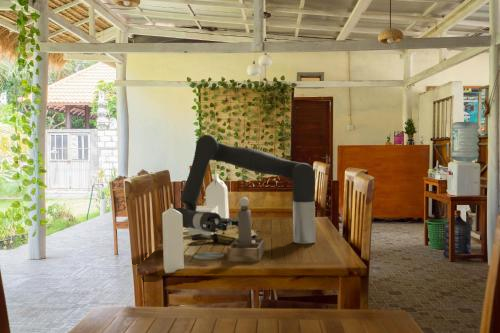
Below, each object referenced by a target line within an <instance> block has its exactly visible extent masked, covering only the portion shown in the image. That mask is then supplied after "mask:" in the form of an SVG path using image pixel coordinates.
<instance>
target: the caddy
mask: <svg viewBox="0 0 500 333" xmlns="http://www.w3.org/2000/svg"><path fill="white" fill-rule="evenodd" d="M265 240H266V239H265V238H260V237H259V238H258V237H257V238H251V241H252V248H239V240H238V238H236V239H235V240H234V241H233V242H232V244H229V246H228V247H227V248H226V249H227V262H239V263H240V262H241V263H242V262H247V263H249V262H252V263H254V262H255V263H257V262H258V263H259V262H260V261H261V260H262V257H263V255H264V254H265V251H266V244H265V243H266V241H265Z"/></svg>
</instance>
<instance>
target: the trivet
mask: <svg viewBox="0 0 500 333" xmlns="http://www.w3.org/2000/svg"><path fill="white" fill-rule="evenodd" d="M224 256H225V255H224V253H222V252H216V251H215V252H214V251H213V252H211V251H208V252H207V251H206V252H201V253H196V254H194V255H193V258H195V259H199V260H214V259H215V260H217V259H220V258H223V257H224Z"/></svg>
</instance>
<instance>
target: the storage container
mask: <svg viewBox="0 0 500 333" xmlns="http://www.w3.org/2000/svg"><path fill="white" fill-rule="evenodd" d="M196 211H200V212H203V211H205V212H213V213H217V214H218V206H206V205H196ZM187 229H188V236H189V235H196V234H214V233H213V232H207V231H201V230H199V229H194V228H190V227H189V228H187Z"/></svg>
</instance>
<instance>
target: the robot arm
mask: <svg viewBox="0 0 500 333" xmlns="http://www.w3.org/2000/svg"><path fill="white" fill-rule="evenodd" d="M210 161H217V162H222V163H227V164H230V165H232V166H234V167H235V166H236V167H238V168H241V169H243V170H246V171H251V172H254V173H258V174H262V175H263V174H264V175H269V176H270V175H271V176H278V177H282V178H285V179H287V180H290V181H292V222H293V223H292V229H293V230H292V231H293V232H292V233H293V237H292V238H293V243H296V244H300V245H301V244H304V245H305V244H316V205H315V202H316V199H315V198H316V173H315V169H314V168H313V167H312V165H310V164H309V163H306V162H300V161H299V162H298V161H292V160H287V159H284V158H280V157H279V156H276V155H273V154H271V153H269V152H265V151H263V150H258V149H255V148H252V147H241V146H239V147H237V146H236V147H235V146H231V145H227V144H224V143H221V142H218V141H217V140H216V138H215V137H214V136H213V135H210V134H204V135H201V136H200V137H199V138H198V139H197V141H196V143H195V150H194V156H193V159H192V164H191V168H190V170H189V173H188V176H187V178H186V182H185V184H184V187H183V189H182V192H181V194H180V198H179V200H180V202H181V203H183V204H184V205H185V208H181V207H176V208H174V209H175V210H177V211H179V212H180V213H181V214H182V219H183V229H184V228H185V229H188V228H189V227H190V228H194V229H199V230H201V231H207V232H217V231H218V230H228V229H229V228H230V229H232V227H237V228H238V217H236V218H235V217H229V218H221V217H220V215H219V214H217V213H213V212H205V211H203V212H200V211H196V209H197V204H198V203H197V202H198V199H199V197H200V194H201V191H202V187H203V183H204V179H205V174H206V172H207V171H206V170H207V168H208V165H209V163H210Z"/></svg>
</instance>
